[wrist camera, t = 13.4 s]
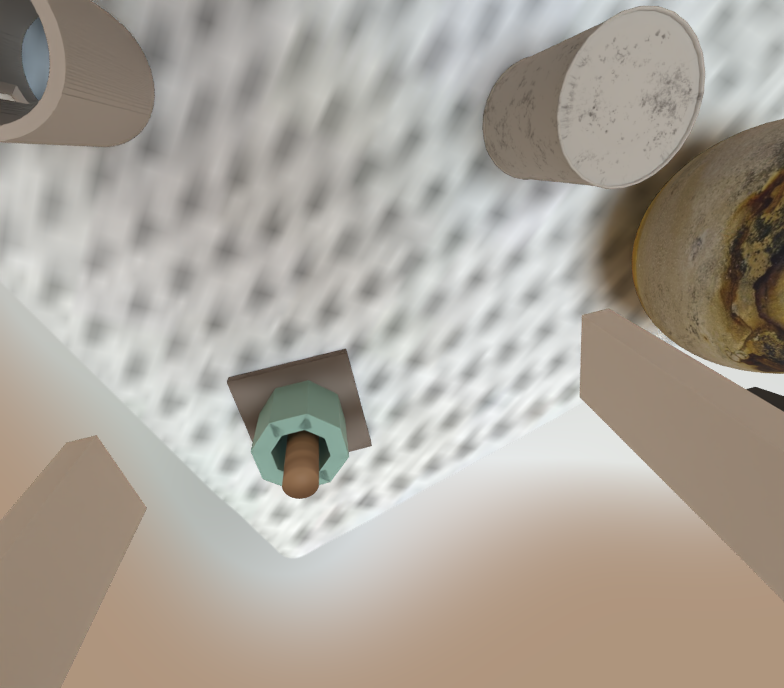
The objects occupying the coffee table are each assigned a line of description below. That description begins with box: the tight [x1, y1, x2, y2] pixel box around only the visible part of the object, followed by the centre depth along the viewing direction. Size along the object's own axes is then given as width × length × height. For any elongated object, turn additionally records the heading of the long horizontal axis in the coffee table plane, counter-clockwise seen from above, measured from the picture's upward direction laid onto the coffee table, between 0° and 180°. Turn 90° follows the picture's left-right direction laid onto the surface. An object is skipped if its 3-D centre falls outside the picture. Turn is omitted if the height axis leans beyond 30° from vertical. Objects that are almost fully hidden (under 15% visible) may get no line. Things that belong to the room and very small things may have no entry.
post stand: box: [227, 349, 372, 499], centre depth 39 cm, size 12×12×11 cm
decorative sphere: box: [632, 119, 784, 374], centre depth 33 cm, size 20×20×20 cm
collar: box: [251, 380, 349, 486], centre depth 40 cm, size 8×8×6 cm
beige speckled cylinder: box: [483, 6, 705, 189], centre depth 30 cm, size 10×10×12 cm
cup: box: [0, 0, 155, 147], centre depth 24 cm, size 9×9×12 cm
